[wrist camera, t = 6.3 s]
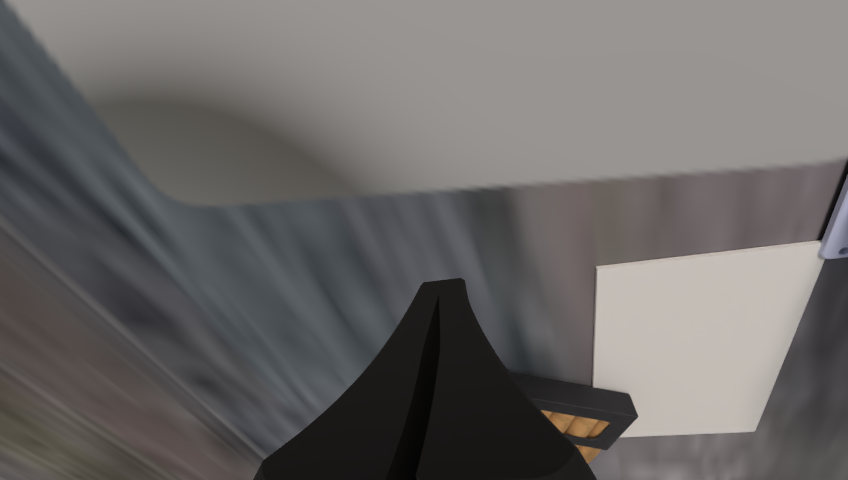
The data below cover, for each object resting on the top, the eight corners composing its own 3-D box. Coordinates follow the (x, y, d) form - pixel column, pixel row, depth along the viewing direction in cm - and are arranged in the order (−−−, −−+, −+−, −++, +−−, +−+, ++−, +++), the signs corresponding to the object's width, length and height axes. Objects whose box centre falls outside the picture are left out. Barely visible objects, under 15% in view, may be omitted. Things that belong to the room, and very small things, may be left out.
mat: (827, 239, 21) (832, 241, 20) (752, 428, 29) (754, 431, 29) (595, 266, 23) (597, 269, 23) (589, 435, 32) (591, 438, 31)
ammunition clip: (491, 369, 28) (462, 446, 35) (492, 391, 26) (462, 467, 33) (630, 393, 28) (573, 466, 34) (639, 417, 26) (578, 488, 33)
